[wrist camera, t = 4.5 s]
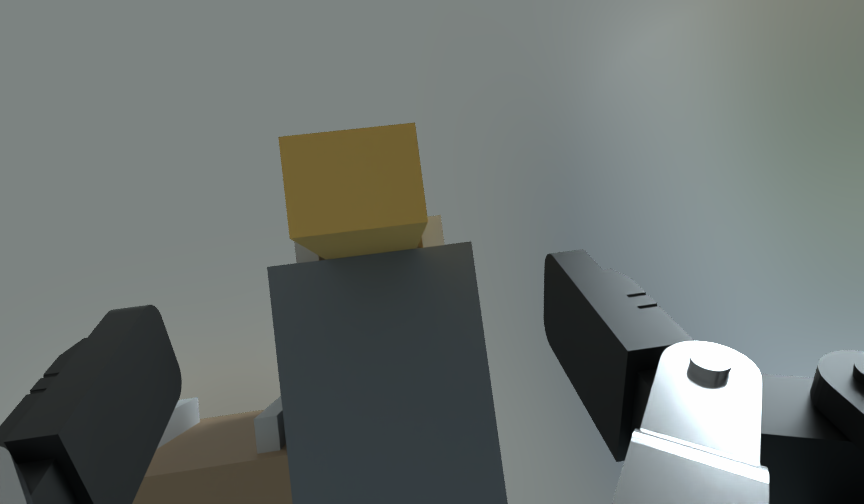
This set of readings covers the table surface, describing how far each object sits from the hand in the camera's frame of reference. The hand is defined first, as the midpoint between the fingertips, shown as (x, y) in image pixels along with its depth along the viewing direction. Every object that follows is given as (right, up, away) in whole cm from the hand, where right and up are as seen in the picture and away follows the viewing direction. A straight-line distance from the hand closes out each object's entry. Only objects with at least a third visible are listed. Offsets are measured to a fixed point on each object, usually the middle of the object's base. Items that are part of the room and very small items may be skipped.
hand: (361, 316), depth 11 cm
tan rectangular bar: (-1, +1, +14) cm, 14 cm away
